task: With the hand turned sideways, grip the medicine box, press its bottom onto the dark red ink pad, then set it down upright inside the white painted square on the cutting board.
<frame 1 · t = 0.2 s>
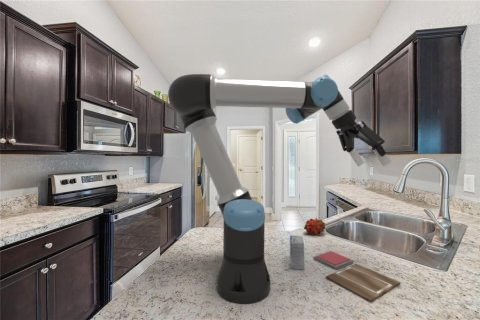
hand: (373, 164, 75), 35 cm above the countertop, tool tilted 35°, fingers open, 13 cm apart
medicine box: (296, 264, 72), on the countertop
ink pad: (333, 261, 75), on the countertop
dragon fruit: (314, 234, 104), on the countertop
cutting board: (362, 281, 62), on the countertop
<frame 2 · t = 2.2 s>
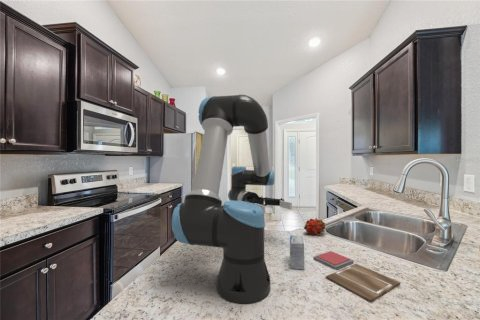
hand: (278, 207, 81), 18 cm above the countertop, tool horizontal, fingers open, 13 cm apart
nothing on the countertop moved.
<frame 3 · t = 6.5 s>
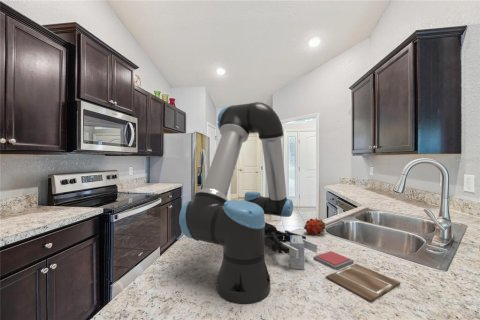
hand: (307, 251, 68), 6 cm above the countertop, tool horizontal, fingers closed on medicine box, 8 cm apart
medicine box: (296, 264, 72), on the countertop, touching gripper
everything else where it was.
when the fingers open (8 cm above the countertop, at t = 16.0 s): medicine box drops 2 cm, resting on cutting board.
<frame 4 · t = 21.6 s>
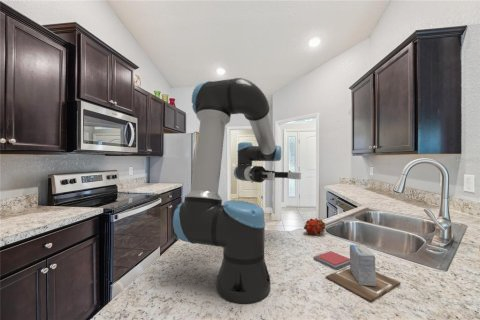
hand: (287, 176, 80), 30 cm above the countertop, tool horizontal, fingers open, 13 cm apart
medicine box: (362, 279, 62), resting on cutting board
everything else where it was.
at the end: medicine box 0.1 cm off-centre on the cutting board, point 0.5 cm above the cutting board's base; medicine box tilted 0°; the gripper is holding nothing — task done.
